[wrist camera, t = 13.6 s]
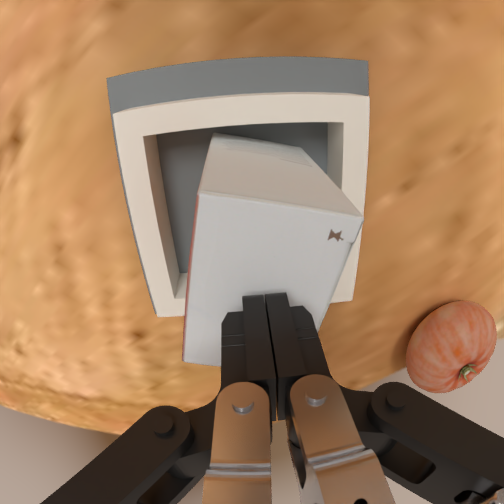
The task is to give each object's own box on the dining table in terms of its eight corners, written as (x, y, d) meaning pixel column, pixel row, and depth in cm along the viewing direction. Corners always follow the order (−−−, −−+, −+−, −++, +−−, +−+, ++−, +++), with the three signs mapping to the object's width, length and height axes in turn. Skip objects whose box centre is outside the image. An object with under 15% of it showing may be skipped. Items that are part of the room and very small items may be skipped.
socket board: (114, 77, 17) (86, 79, 13) (359, 61, 18) (389, 59, 14) (158, 302, 26) (149, 340, 22) (346, 286, 27) (363, 321, 23)
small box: (212, 130, 18) (195, 184, 9) (303, 146, 19) (369, 214, 10) (196, 246, 22) (178, 366, 13) (275, 256, 23) (303, 375, 14)
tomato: (376, 338, 31) (403, 399, 24) (453, 266, 27) (498, 318, 20) (420, 367, 35) (445, 416, 28) (484, 310, 31) (518, 354, 24)
